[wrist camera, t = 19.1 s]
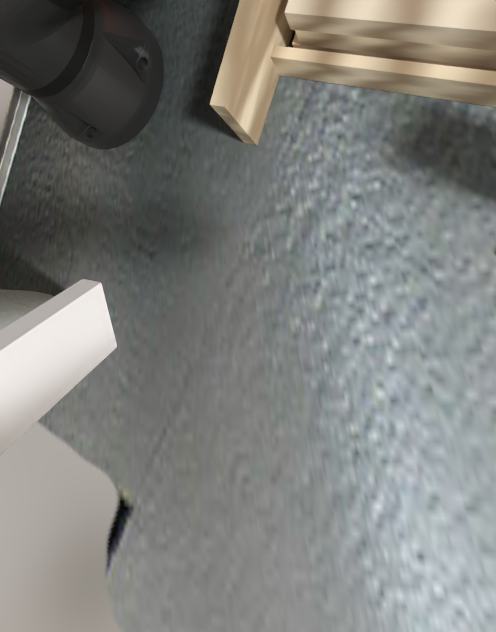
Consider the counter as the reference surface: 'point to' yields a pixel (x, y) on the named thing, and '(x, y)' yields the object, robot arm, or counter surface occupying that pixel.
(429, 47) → the offcut stack
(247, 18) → the birch rack
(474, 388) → the counter surface
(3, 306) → the glass bottle
